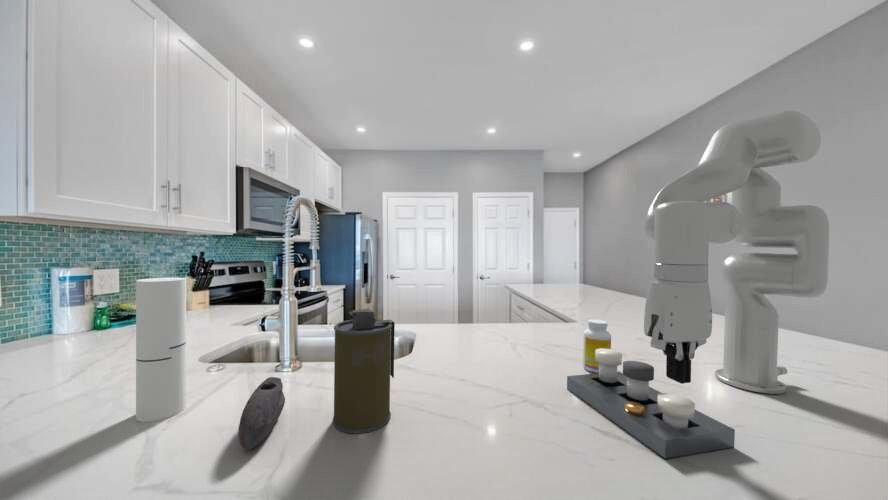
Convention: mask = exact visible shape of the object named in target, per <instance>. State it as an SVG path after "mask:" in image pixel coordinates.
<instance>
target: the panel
mask: <svg viewBox="0 0 888 500" xmlns="http://www.w3.org/2000/svg"><path fill="white" fill-rule="evenodd" d="M566 389H567V390H568V391H569V392H570V393H571V394H573V395H575V396H576V397H577V398H579V399H580V400H581V401H583V402H584V403H585V404H587V405H588V406H590V407H591V408H592V407H593V408H592V409H594V410H595V409H596V410H595V411H596V412H598V413H599V412H600V413H599V414H601V415H602V414H603V415H602V416H604V417H605V416H606V417H607V418H606V417H605V418H606V419H608V420H609V419H610V420H611V421H610V420H609V421H610V422H612V423H613V422H614V423H613V424H615V425H616V426H617V427H619V428H620V429H621V430H623V431H624V432H626V433H628V434H629V435H630V436H631V437H633V438H634V439H635V440H637V441H638V442H640V444H642V445H644V446H645V447H647V448H648V449H650V451H652V452H654V454H656V455H658V456H659V457H660V458H662V459H663V460H665V461H666V460H671V459H677V458H682V457H688V456H695V455H698V454H706V453H711V452H718V451H723V450H729V449H735V438H736V437H735V434H736V430H735V429H734V428H733V427H731V426H729V425H727V424H725V423H722V422H720V421H719V420H717V419H714V418H713V417H710V416H709V415H707V414H705V413H704V412H701V411H699V410H696V409H695V412H694V418H693V419H688V428H685V429H678V430H677V429H675V428H673V427H672V426H670V425H668V424H667V423H665V422H663V421H662V417H663V413H662V412H661V411H660V410H658V408H657V400H658V394H660V393H662V392H661V391H659V390H657V389H655V388H653V387H651V386H649V390H648V400H637V399H633V398H631V397H629V396H628V395H627V377H626V376H625V375H624V374H623V372H621V371H617V382H616V383H608V382H604V381H602V380H600V379H599V373H589V374H577V375H576V374H575V375H567V376H566Z"/></svg>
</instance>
